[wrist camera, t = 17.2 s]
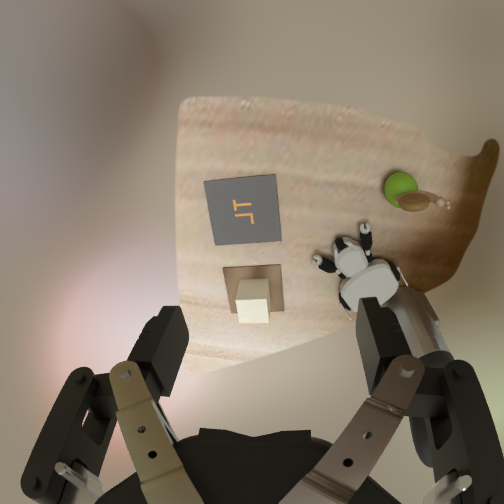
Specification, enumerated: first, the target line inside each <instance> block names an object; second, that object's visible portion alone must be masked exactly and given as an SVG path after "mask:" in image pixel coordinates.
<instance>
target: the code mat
mask: <svg viewBox="0 0 504 504" xmlns="http://www.w3.org/2000/svg"><path fill="white" fill-rule="evenodd" d="M204 186H205V192H206V198H207V203H208V209H209V214H210V220H211V225H212V231H213V236H214V241H215V245H230V244H244V243H259V242H274V241H281V230H280V219H279V208H278V197H277V187H276V177H275V174H272V175H260V176H249V177H239V178H230V179H221V180H212V181H204Z"/></svg>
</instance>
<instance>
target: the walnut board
mask: <svg viewBox="0 0 504 504" xmlns="http://www.w3.org/2000/svg"><path fill="white" fill-rule="evenodd" d="M223 273H224V278H225V283H226V288H227V293H228V298H229V303H230V308H231V313H238V312H237V307H236V301H235V299H236V295H237V290H238V286H239V282H240V280H245V279H265V278H268V281H269V290H270V299H271V304H270V312H276V311H284V304H283V291H282V278H281V266H280V264H277V265H260V266H242V267H224V268H223Z"/></svg>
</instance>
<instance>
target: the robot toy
mask: <svg viewBox="0 0 504 504" xmlns="http://www.w3.org/2000/svg"><path fill="white" fill-rule="evenodd" d="M365 224H366V228H364V224H361V225H360V231H361V232H360V238H361V245H362V246H363V248H364V249H365V254H364V251H363V249H362V247H361V245H360V244H359V243H358V242H357V241H354V240H351V239H350V238H349V237H342V238H343V239H342V238H337V239H336V240H335V243H334V245H333V246H332V247H333V251H334V254H333V257H334V261H335V264H334V263H333V262H332V261H330V260H329V259H327V258H325V257H323V258H321V256H319V255H314V256H313V258H315V259H317V260H315V259H313V258H312V259H311V263H313V264H314V265H319V266H318V267H319V268H320V269H321V270H323V271H325V272H327V273H334V272H335V273H337V274H338V276H339V277H340V278H342V279H343V280H342V282H341V284H340V293H339V300H340V302H339V304H340V306H342V308H343V309H344V311H345V312H346V314H347V316H348V317H349V319H350V320H351V317H350V316H349V315H348V313H347V311H346V310H345V308H346V309H347V310H352V311H353V312H356V313H357V312H358V302H359V298H364V297H375V296H376V297H377V299H378V301H379V304H380V306H381V305H382V304H384V303H385V302H386V301H387V300H389V299H390V298H391V297H392V296H393V295H394V294H395V293H396V291H397V289H398V287H399V284H398V281H399V280H400V274H401V272H400V269H399V267H398V266H397V267H396V266H395V265H394V264H393V263H391V262H386V261H385V260H383V259H375V260H372V254H371V253H370V248H371V246H372V234H371V232H370V228H371V227H370V224H368V223H365ZM336 246H337V248H336ZM335 265H336V266H335ZM399 272H400V273H399ZM401 276H402V278H403V279H404V277H403V275H402V274H401ZM404 281H405V279H404ZM405 283H406V285H407V286H408V284H407V282H406V281H405ZM351 321H352V320H351Z"/></svg>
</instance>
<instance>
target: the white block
mask: <svg viewBox="0 0 504 504" xmlns="http://www.w3.org/2000/svg"><path fill="white" fill-rule="evenodd" d="M235 301H236V307H237V312H238V317H239V322H240V324H243V323H269V319H270V304H271V299H270V290H269V281H268V278H265V279H245V280H240V282H239V286H238V290H237V295H236V299H235Z"/></svg>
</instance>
